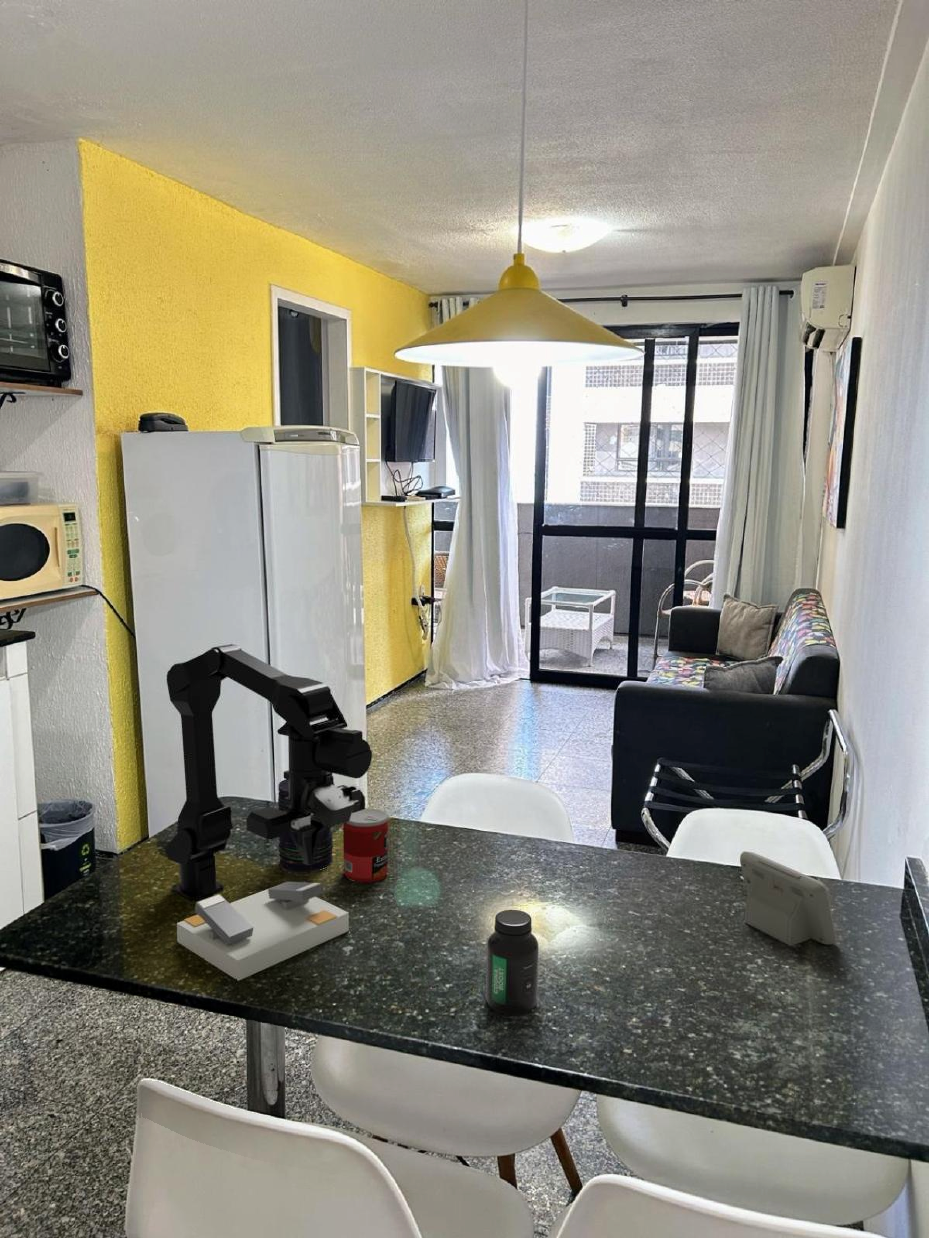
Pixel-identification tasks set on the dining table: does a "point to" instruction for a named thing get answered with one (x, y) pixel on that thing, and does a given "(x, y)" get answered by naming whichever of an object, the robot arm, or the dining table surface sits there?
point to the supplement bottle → (512, 964)
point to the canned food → (366, 845)
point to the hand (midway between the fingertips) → (308, 864)
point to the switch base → (265, 933)
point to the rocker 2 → (296, 891)
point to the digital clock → (786, 902)
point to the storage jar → (289, 851)
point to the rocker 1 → (224, 919)
